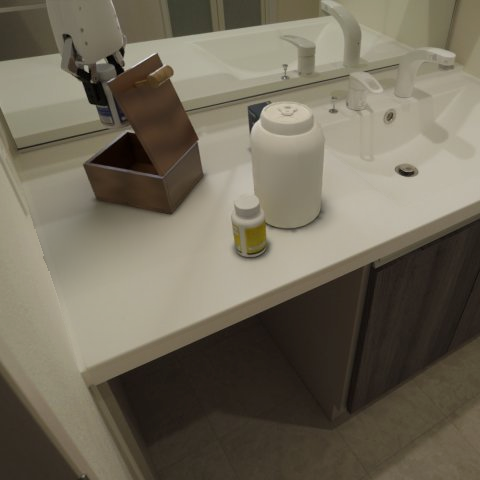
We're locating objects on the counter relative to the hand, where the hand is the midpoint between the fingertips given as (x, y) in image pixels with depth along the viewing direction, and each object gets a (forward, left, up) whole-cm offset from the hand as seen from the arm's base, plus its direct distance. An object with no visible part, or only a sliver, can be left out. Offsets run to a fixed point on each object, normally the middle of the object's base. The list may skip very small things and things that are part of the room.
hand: (109, 96), depth 71 cm
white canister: (+32, +1, -18) cm, 36 cm away
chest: (+4, 0, -18) cm, 18 cm away
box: (+22, +19, -18) cm, 34 cm away
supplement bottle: (+29, -11, -18) cm, 36 cm away
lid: (+8, 0, -2) cm, 9 cm away
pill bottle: (0, 0, -5) cm, 5 cm away
